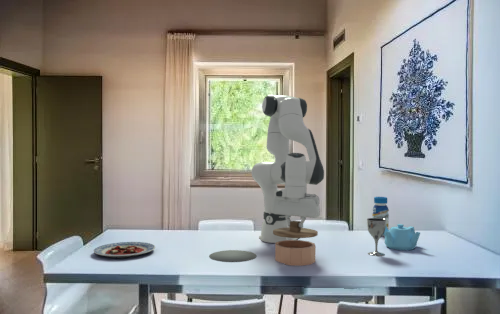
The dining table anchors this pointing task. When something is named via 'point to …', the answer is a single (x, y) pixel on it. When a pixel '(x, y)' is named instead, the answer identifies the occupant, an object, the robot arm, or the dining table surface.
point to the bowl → (295, 252)
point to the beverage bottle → (381, 209)
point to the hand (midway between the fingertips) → (295, 227)
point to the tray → (233, 256)
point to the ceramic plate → (124, 249)
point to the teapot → (401, 237)
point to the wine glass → (376, 232)
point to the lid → (295, 231)
